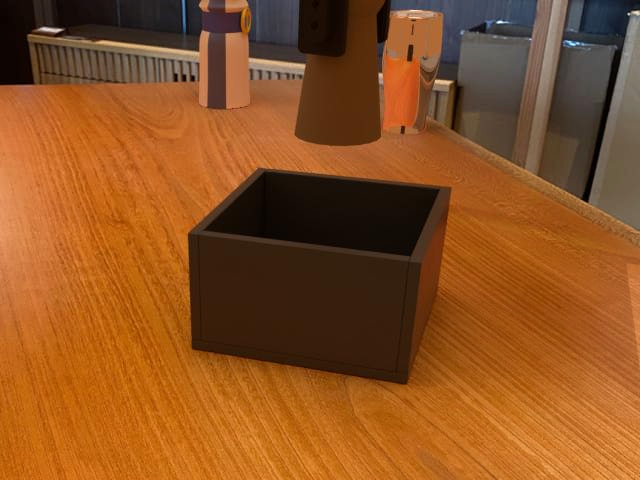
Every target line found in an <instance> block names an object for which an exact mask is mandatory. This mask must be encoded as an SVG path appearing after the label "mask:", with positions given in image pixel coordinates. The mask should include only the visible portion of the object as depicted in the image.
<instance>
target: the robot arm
mask: <svg viewBox="0 0 640 480" xmlns="http://www.w3.org/2000/svg"><path fill="white" fill-rule="evenodd" d="M298 2H299V3H298V25H297V26H298V28H297V31H298V32H297V50H298V52H299V53H301V54H304V55H305V54H306V55H307V54H313V55H321V56H330V57H340V56H342V55H344V54H345V52H346V41H347V25H348V9H349V0H298ZM391 7H392V0H385V2H384V4H383V6H382V7H381V9H380V10H379V11H378V13H377V14H376V17H377V43H378V44H382V43H383V44H384V42H385V41H386V40H387V39H388V31H389V19H390V12H391V9H392V8H391Z"/></svg>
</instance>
